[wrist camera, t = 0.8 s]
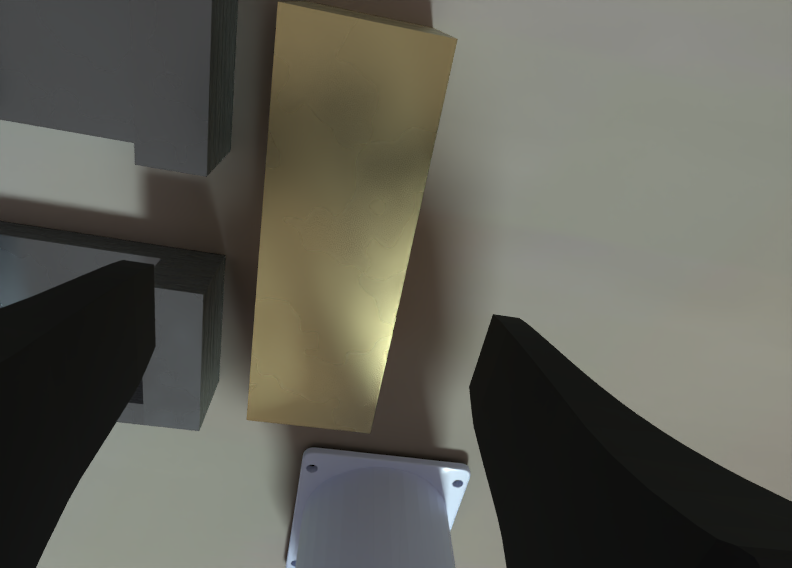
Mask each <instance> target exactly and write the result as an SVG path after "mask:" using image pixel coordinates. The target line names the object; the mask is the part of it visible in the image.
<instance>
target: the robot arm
mask: <svg viewBox="0 0 792 568" xmlns="http://www.w3.org/2000/svg"><path fill="white" fill-rule="evenodd" d="M155 347H156V337H155V288H154V264H148V263H141V262H134V261H128V260H121V261H117V262H114V263H111V264H109V265H106V266H103V267H101V268H98V269H96V270H94V271H91V272H89V273H86V274H84V275H82V276H79V277H77V278H75V279H72V280H70V281H68V282H65V283H63V284H60V285H58V286H56V287H53V288H51V289H49V290H46V291H44V292H41V293H39V294H37V295H34V296H32V297H29V298H26V299H24V300H21V301H18V302H16V303H13V304H10V305H8V306H5V307H2V308H0V568H36V566H37V564H38V562H39V560H40V558H41V556H42V553H43V551H44V549H45V547H46V545H47V543H48V541H49V539H50V537H51V535H52V533H53V531H54V529H55V527H56V525H57V523H58V521H59V518H60V516H61V514H62V512H63V510H64V508H65V506H66V504H67V502H68V500H69V498H70V497H71V495H72V493H73V491H74V490H75V488H76V486H77V484H78V483H79V481H80V479H81V477H82V476H83V474H84V473H85V471H86V469H87V468H88V466H89V465H90V463H91V461H92V460H93V458H94V457H95V455H96V454H97V452H98V450H99V449H100V447H101V446H102V444H103V442H104V441H105V439H106V438H107V436H108V435H109V433H110V431H111V430H112V428H113V427H114V425H115V423H116V422H117V420H118V419H119V417H120V416H121V414H122V412H123V411H124V409H125V407H126V406H127V404H128V403H129V401H130V399H131V398H132V396H133V394H134V393H135V391H136V389H137V388H138V386H139V384H140V382H141V379H142V377H143V375H144V373H145V371H146V369H147V366H148V364H149V361H150V359H151V357H152V354H153V352H154V350H155ZM469 389H470V400H471V409H472V417H473V425H474V430H475V434H476V438H477V442H478V445H479V449H480V453H481V457H482V461H483V465H484V468H485V472H486V476H487V480H488V483H489V487H490V491H491V495H492V498H493V502H494V506H495V510H496V513H497V517H498V522H499V526H500V531H501V535H502V540H503V547H504V553H505V560H506V566H507V568H792V501H789V500H787V499H785V498H783V497H781V496H779V495H777V494H775V493H773V492H771V491H769V490H767V489H765V488H763V487H761V486H759V485H757V484H755V483H752V482H750V481H748V480H746V479H744V478H743V477H741V476H739V475H737V474H735V473H733V472H731V471H729V470H727V469H726V468H724V467H722V466H720V465H718V464H716V463H715V462H713V461H711V460H709V459H708V458H706V457H704V456H702V455H701V454H699V453H697V452H696V451H694V450H692V449H690V448H689V447H687V446H685V445H683V444H682V443H680V442H679V441H677V440H675V439H674V438H672V437H671V436H669V435H667V434H666V433H664V432H663V431H661V430H660V429H658V428H657V427H655V426H654V425H652V424H651V423H649V422H648V421H646V420H645V419H644V418H642V417H641V416H639V415H638V414H636V413H635V412H633V411H632V410H631V409H629V408H628V407H626V406H625V405H624V404H622V403H621V402H620V401H618V400H617V399H616V398H615V397H613V396H612V395H611V394H610V393H608V392H607V391H606V390H604V389H603V388H602V387H601V386H599V385H598V384H597V383H596V382H594V381H593V380H592V379H591V378H590V377H588V376H587V375H586V374H585V373H584V372H582V371H581V370H580V369H579V368H578V367H577V366H575V365H574V364H573V363H572V362H571V361H570V360H568V359H567V358H566V357H565V356H564V355H563V354H562V353H560V352H559V351H558V350H557V349H556V348H555V347H554V346H553V345H551V344H550V343H549V342H548V341H547V340H546V339H545V338H544V337H542V336H541V335H540V334H539V333H538V332H537V331H535V330H534V329H533V328H532V327H531V326H529V325H528V324H527V323H526V322H524V321H523V320H521V319H520V318H515V317H508V316H501V315H494V314H493V316H492V319H491V322H490V325H489V328H488V331H487V334H486V337H485V340H484V343H483V346H482V349H481V352H480V356H479V359H478V362H477V365H476V368H475V371H474V374H473V377H472V380H471V383H470V386H469ZM310 465H315V466H310ZM469 479H470V469H469V467H468V466H467V465H466V464H462V463H454V462H445V461H436V460H426V459H417V458H408V457H399V456H390V455H380V454H371V453H362V452H353V451H344V450H334V449H325V448H316V447H313V448H308V449H306V450H305V451H304V453H303V458H302V464H301V471H300V477H299V484H298V490H297V497H296V503H295V510H294V516H293V523H292V529H291V536H290V542H289V549H288V555H287V562H286V568H455V561H454V555H453V548H452V542H451V535H450V531H451V528H452V525H453V523H454V520H455V517H456V514H457V512H458V509H459V506H460V503H461V501H462V498H463V495H464V492H465V490H466V487H467V484H468V481H469ZM455 480H459V481H455Z"/></svg>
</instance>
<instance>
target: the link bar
mask: <svg viewBox="0 0 792 568" xmlns="http://www.w3.org/2000/svg"><path fill="white" fill-rule="evenodd" d="M456 44H457V39H456V38H454V37H452V36H450V35H448V34H445V33H443V32H441V31H439V30H437V29H435V28H432V27H427V26H422V25H418V24H413V23H408V22H403V21H399V20H394V19H389V18H384V17H379V16H375V15H370V14H365V13H360V12H356V11H351V10H346V9H341V8H337V7H332V6H327V5H322V4H318V3H313V2H308V1H284V2H278V6H277V20H276V33H275V47H274V60H273V73H272V87H271V100H270V114H269V127H268V140H267V154H266V167H265V181H264V194H263V208H262V221H261V234H260V248H259V261H258V275H257V288H256V301H255V315H254V328H253V342H252V355H251V368H250V382H249V395H248V409H247V420H251V421H260V422H270V423H279V424H288V425H297V426H306V427H315V428H324V429H333V430H343V431H352V432H361V433H371V428H372V424H373V419H374V415H375V410H376V406H377V401H378V397H379V392H380V387H381V383H382V378H383V374H384V369H385V365H386V360H387V356H388V351H389V347H390V342H391V338H392V333H393V329H394V324H395V320H396V315H397V311H398V306H399V302H400V297H401V292H402V288H403V283H404V279H405V274H406V270H407V265H408V261H409V256H410V252H411V247H412V243H413V238H414V234H415V229H416V225H417V220H418V216H419V211H420V207H421V202H422V197H423V193H424V188H425V184H426V179H427V175H428V170H429V166H430V161H431V157H432V152H433V148H434V143H435V139H436V134H437V130H438V125H439V121H440V116H441V112H442V107H443V102H444V98H445V93H446V89H447V84H448V80H449V75H450V71H451V66H452V62H453V57H454V53H455V48H456Z"/></svg>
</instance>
